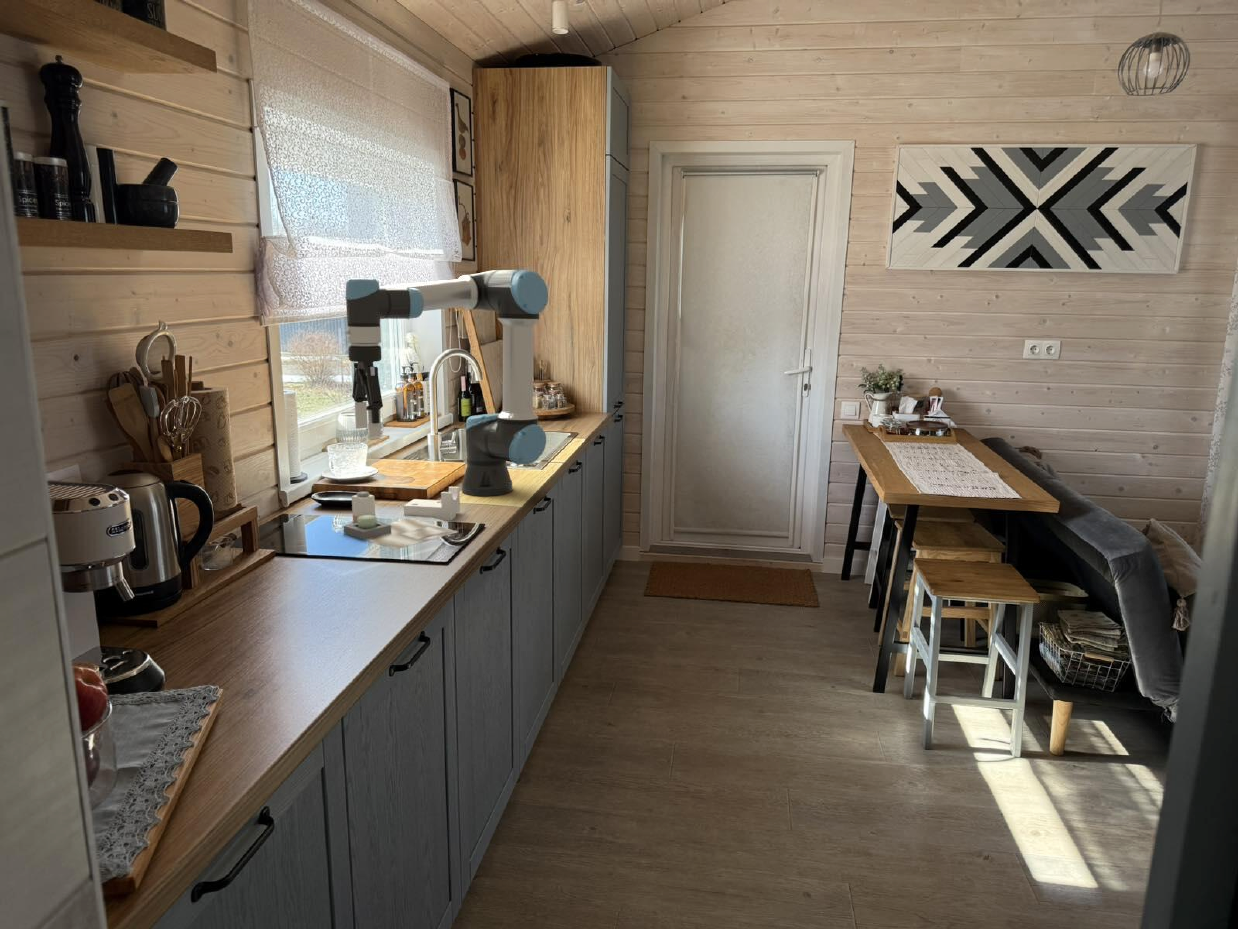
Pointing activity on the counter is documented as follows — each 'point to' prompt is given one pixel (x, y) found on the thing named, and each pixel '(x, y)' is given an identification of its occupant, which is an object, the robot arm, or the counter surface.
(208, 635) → the counter surface
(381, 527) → the button housing
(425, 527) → the cloth
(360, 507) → the white tall block
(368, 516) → the button
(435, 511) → the bracket
